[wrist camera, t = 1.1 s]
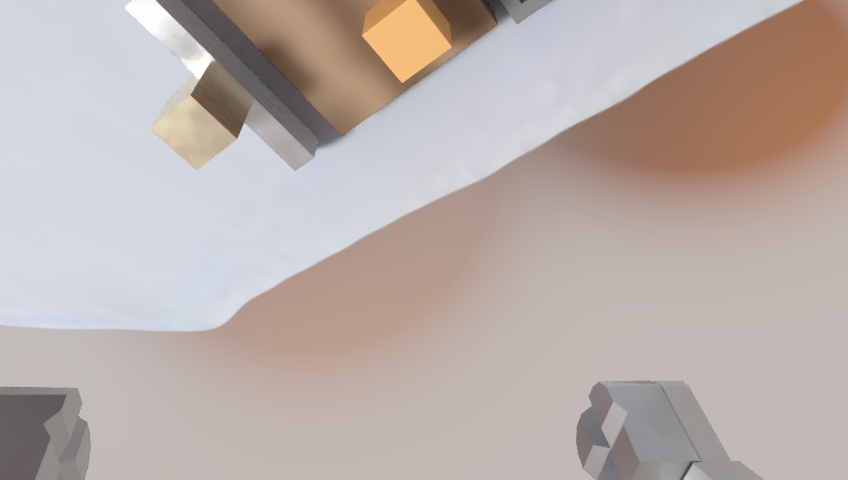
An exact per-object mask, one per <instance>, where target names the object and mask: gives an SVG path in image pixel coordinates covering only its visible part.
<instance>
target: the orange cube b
mask: <svg viewBox="0 0 848 480" xmlns="http://www.w3.org/2000/svg"><path fill="white" fill-rule="evenodd" d="M362 36H363V38H364V39H365V40H366V41H367V42H368V43H369V45H370V46H371V47H372V48H373V49H374V51H375V52H376V53H377V54H378V55H379V56H380V58H381V59H382V60H383V61H384V62H385V64H386V65H387V66H388V67H389V68H390V69H391V71H392V72H393V73H394V74H395V75H396V77H397V78H398V79H399V80H400V81H401V82H402V83H403V82H404V81H406V80H407V79H409V78H410V77H411V76H413V75H414V74H415V73H417V72H418V71H420V70H421V69H422V68H424V67H425V66H426V65H428V64H429V63H431V62H432V61H433V60H435V59H436V58H438V57H439V56H440V55H442V54H443V53H444V52H446V51H447V50H449V49H450V48H451V47H452V42H451V31H450V23H449V22H448V21H447V19H446V18H445V17H444V15H443V14H442V13H441V11H440V10H439V9H438V7H437V6H436V5H435V3H434V2H433V1H432V0H382V1H380V2H379V3H378V4H377V5H375V6H374V7H373V8H372V9H370V10H369V11H368V12H366V16H365V21H364V26H363V32H362Z"/></svg>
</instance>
